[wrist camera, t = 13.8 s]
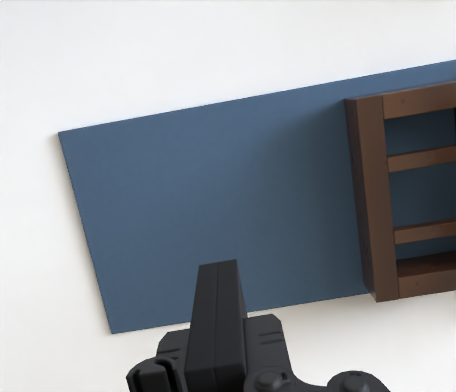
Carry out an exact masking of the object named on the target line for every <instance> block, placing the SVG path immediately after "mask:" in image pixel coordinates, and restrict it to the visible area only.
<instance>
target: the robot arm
mask: <svg viewBox="0 0 456 392" xmlns="http://www.w3.org/2000/svg"><path fill="white" fill-rule="evenodd" d="M126 380H127V383H128V387H129V390H130V392H390V391H389V390H388V389H387V387H386V386H385V385H384V384H383V383H382V382H381V381H380V380H379V379H377V378H376V377H375V376H373V375H372V374H369V373H366V372H363V371H346V372H341V373H339V374H337V375H335V376H333V377H332V378H331V380H330V381H329V382H328V384H327V387H326V386H316V385H310V384H308V383H305V382H303V381H301V380H300V379H298V378H297V377H296V376H295V375H294V373H293V371H292V368H291V364H290V360H289V355H288V351H287V347H286V342H285V338H284V334H283V329H282V325H281V321H280V320H279V319H278V318H277V317H276V316H274V315H273V314H267V315H261V316H255V317H249V318H248V317H247V312H246V306H245V301H244V296H243V291H242V285H241V280H240V275H239V269H238V264H237V259H233V260H227V261H221V262H215V263H209V264H204V265H199V269H198V276H197V283H196V290H195V297H194V303H193V310H192V317H191V324H190V329H184V330H178V331H171V332H167V333H166V335H165V336H164V337H163V338H162V339H161V341H160V342H159V345H158V349H157V354H156V356H155V357H153V358H150V359H146V360H144V361H142V362H140V363H138V364H137V365H136V366H134V367H133V368H132V369H131V370H130V371H129V373H128V374H127V376H126Z"/></svg>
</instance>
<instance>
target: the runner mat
mask: <svg viewBox="0 0 456 392" xmlns="http://www.w3.org/2000/svg"><path fill="white" fill-rule="evenodd" d="M454 79H456V60H451V61H446V62H440V63H435V64H429V65H424V66H418V67H413V68H407V69H402V70H396V71H391V72H386V73H380V74H375V75H369V76H364V77H358V78H353V79H347V80H342V81H336V82H331V83H325V84H320V85H314V86H309V87H303V88H298V89H292V90H287V91H281V92H276V93H270V94H265V95H259V96H254V97H248V98H243V99H237V100H232V101H226V102H221V103H215V104H210V105H204V106H199V107H193V108H188V109H182V110H177V111H172V112H166V113H161V114H155V115H150V116H144V117H139V118H133V119H128V120H122V121H117V122H111V123H106V124H100V125H95V126H89V127H84V128H78V129H73V130H67V131H62V132H58V134H59V138H60V142H61V145H62V149H63V153H64V157H65V160H66V164H67V168H68V172H69V175H70V179H71V183H72V187H73V190H74V194H75V198H76V202H77V205H78V209H79V213H80V217H81V221H82V224H83V228H84V232H85V236H86V239H87V243H88V247H89V251H90V254H91V258H92V262H93V266H94V269H95V273H96V277H97V281H98V284H99V288H100V292H101V296H102V299H103V303H104V307H105V311H106V314H107V318H108V322H109V326H110V329H111V333H112V334H116V333H123V332H129V331H135V330H141V329H148V328H154V327H160V326H166V325H173V324H179V323H185V322H191V317H192V310H193V303H194V297H195V290H196V283H197V276H198V269H199V265H204V264H209V263H215V262H221V261H227V260H233V259H237V264H238V269H239V275H240V280H241V285H242V291H243V296H244V301H245V306H246V312H247V313H248V312H254V311H260V310H266V309H273V308H279V307H285V306H291V305H298V304H304V303H310V302H316V301H323V300H329V299H335V298H341V297H348V296H354V295H360V294H367V293H370V292H369V291H368V289H367V288H366V287H365V285H364V282H363V272H362V263H361V254H360V245H359V236H358V226H357V217H356V208H355V199H354V189H353V180H352V171H351V162H350V152H349V143H348V134H347V125H346V116H345V106H344V98H349V97H354V96H360V95H366V94H372V93H378V92H383V91H389V90H395V89H400V88H406V87H412V86H418V85H423V84H429V83H435V82H441V81H446V80H454ZM384 132H385V143H386V154H387V155H393V154H399V153H405V152H411V151H417V150H423V149H429V148H435V147H441V146H447V145H453V144H456V134H455V115H454V108H452V109H446V110H440V111H435V112H429V113H423V114H417V115H411V116H405V117H400V118H394V119H388V120H384ZM388 177H389V188H390V199H391V211H392V222H393V228H394V227H401V226H407V225H413V224H419V223H425V222H432V221H438V220H444V219H450V218H456V162H451V163H445V164H439V165H433V166H427V167H421V168H415V169H409V170H403V171H397V172H391V173H388ZM450 251H456V235H454V236H448V237H441V238H435V239H429V240H422V241H416V242H410V243H404V244H397V245H395V256H396V260H399V259H406V258H412V257H418V256H425V255H431V254H437V253H444V252H450Z"/></svg>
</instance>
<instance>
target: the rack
mask: <svg viewBox="0 0 456 392" xmlns="http://www.w3.org/2000/svg"><path fill="white" fill-rule="evenodd" d="M344 106H345V116H346V125H347V134H348V143H349V152H350V162H351V171H352V180H353V189H354V199H355V208H356V217H357V226H358V236H359V245H360V254H361V263H362V272H363V282H364V285H365V287H366V288H367V289H368V291H369V292H370V294H371V295H372V297H373V298H374V300H375V301H376V302H384V301H390V300H397V299H399V298H400V299H402V298H409V297H415V296H422V295H428V294H435V293H441V292H448V291H454V290H456V251H450V252H444V253H437V254H431V255H425V256H418V257H412V258H406V259H399V260H396V256H395V245H397V244H404V243H410V242H416V241H422V240H429V239H435V238H441V237H448V236H454V235H456V218H450V219H444V220H438V221H432V222H425V223H419V224H413V225H407V226H401V227H394V228H393V222H392V211H391V199H390V188H389V177H388V173H391V172H397V171H403V170H409V169H415V168H421V167H427V166H433V165H439V164H445V163H451V162H456V144H453V145H447V146H441V147H435V148H429V149H423V150H417V151H411V152H405V153H399V154H393V155H387V154H386V143H385V132H384V120H388V119H394V118H400V117H405V116H411V115H417V114H423V113H429V112H435V111H440V110H446V109H452V108H454V115H455V134H456V79H454V80H446V81H441V82H435V83H429V84H423V85H418V86H412V87H406V88H400V89H395V90H389V91H383V92H378V93H372V94H366V95H360V96H354V97H349V98H344Z"/></svg>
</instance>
